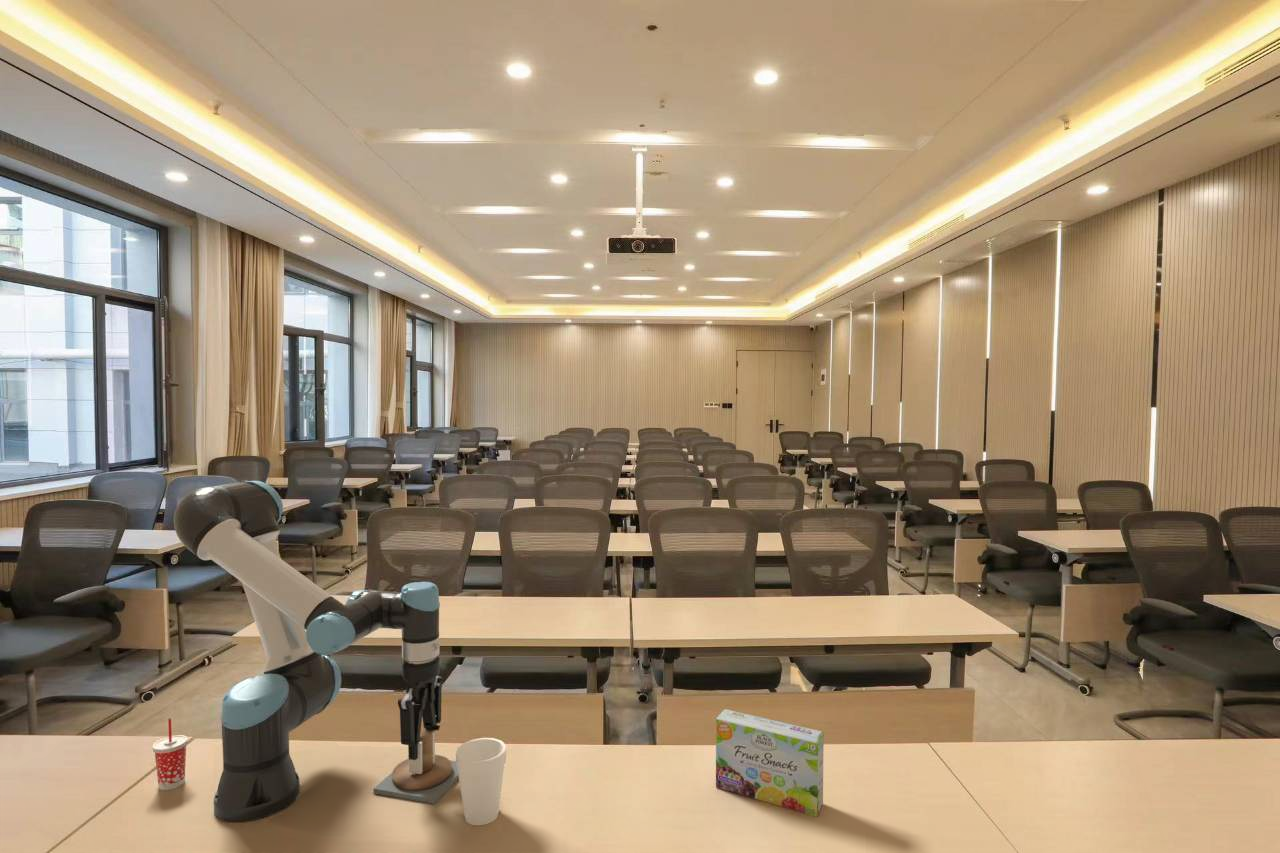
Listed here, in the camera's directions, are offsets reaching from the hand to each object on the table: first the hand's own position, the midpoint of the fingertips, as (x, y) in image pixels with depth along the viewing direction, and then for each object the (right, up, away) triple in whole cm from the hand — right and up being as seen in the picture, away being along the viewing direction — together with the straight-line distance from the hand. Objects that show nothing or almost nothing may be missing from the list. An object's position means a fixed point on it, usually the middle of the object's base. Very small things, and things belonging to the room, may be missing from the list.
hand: (422, 766), depth 147 cm
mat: (0, -3, 0) cm, 3 cm away
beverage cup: (-52, -3, -1) cm, 52 cm away
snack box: (+72, -3, -6) cm, 72 cm away
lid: (0, -2, 0) cm, 2 cm away
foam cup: (+15, -4, -12) cm, 20 cm away
